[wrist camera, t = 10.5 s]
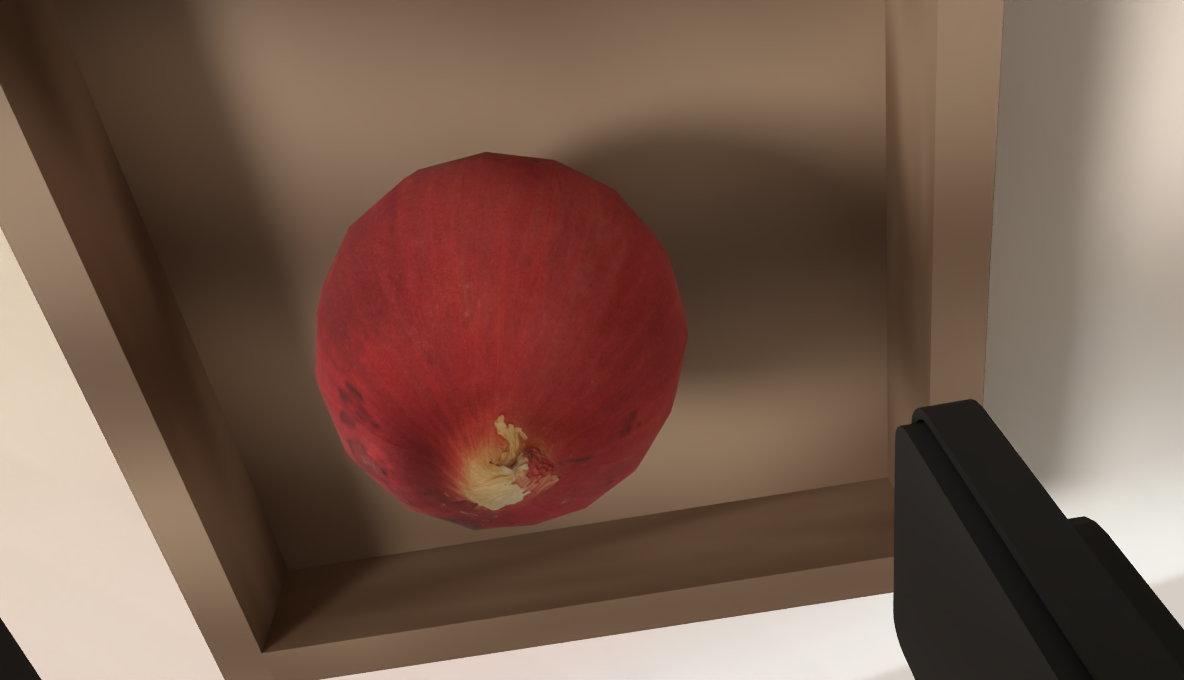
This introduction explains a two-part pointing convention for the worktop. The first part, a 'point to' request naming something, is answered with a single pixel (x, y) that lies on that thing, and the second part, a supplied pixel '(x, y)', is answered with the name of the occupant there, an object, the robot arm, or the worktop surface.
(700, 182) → the walnut tray
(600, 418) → the onion
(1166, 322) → the worktop surface
